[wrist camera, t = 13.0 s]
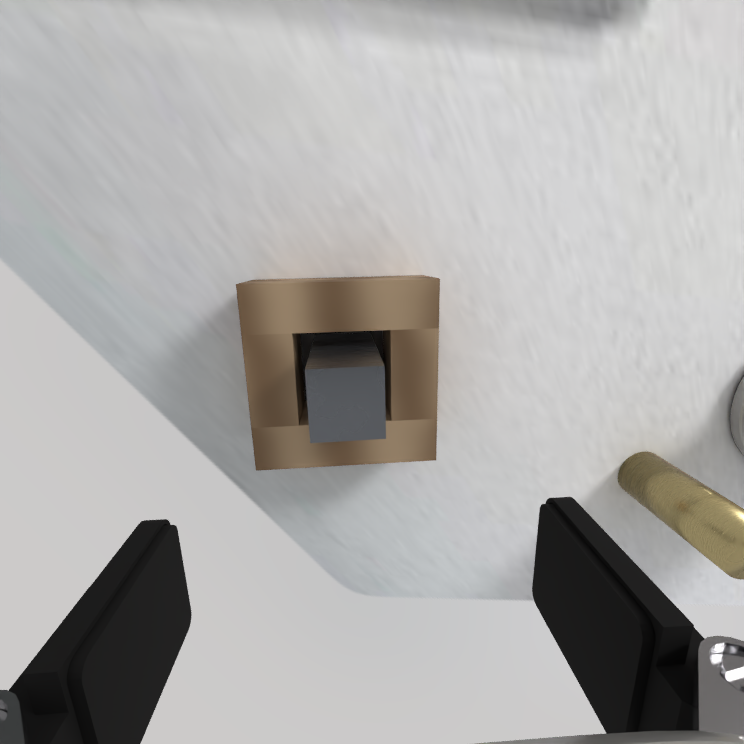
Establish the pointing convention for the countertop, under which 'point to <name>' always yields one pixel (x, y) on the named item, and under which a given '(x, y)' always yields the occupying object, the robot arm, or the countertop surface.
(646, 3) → the countertop surface
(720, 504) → the round bit
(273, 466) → the bore block
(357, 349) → the square bit
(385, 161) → the countertop surface
